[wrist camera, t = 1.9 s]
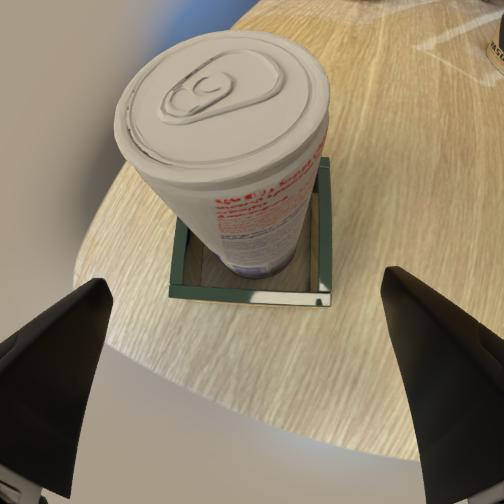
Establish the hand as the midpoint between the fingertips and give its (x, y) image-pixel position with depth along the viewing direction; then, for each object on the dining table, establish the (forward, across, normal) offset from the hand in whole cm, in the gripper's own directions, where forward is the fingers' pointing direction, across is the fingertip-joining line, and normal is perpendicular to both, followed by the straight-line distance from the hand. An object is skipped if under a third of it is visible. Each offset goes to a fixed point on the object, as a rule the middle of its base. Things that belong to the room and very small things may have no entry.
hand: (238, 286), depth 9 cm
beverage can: (+11, 0, +5) cm, 12 cm away
